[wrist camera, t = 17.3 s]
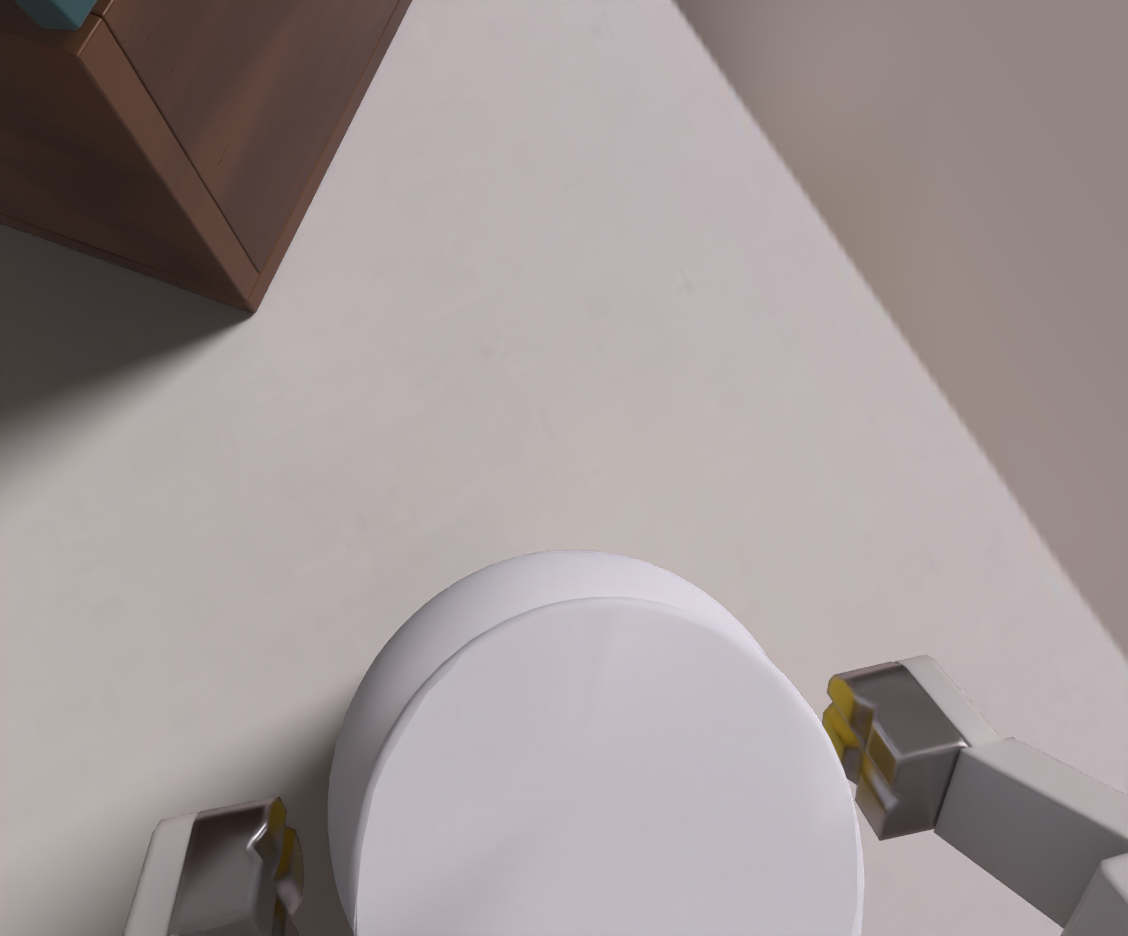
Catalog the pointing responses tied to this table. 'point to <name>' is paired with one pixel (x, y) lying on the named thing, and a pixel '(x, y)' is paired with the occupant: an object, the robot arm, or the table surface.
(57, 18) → the teal box lid
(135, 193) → the wooden box
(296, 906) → the robot arm
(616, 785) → the pill bottle
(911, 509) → the table surface
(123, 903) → the table surface
